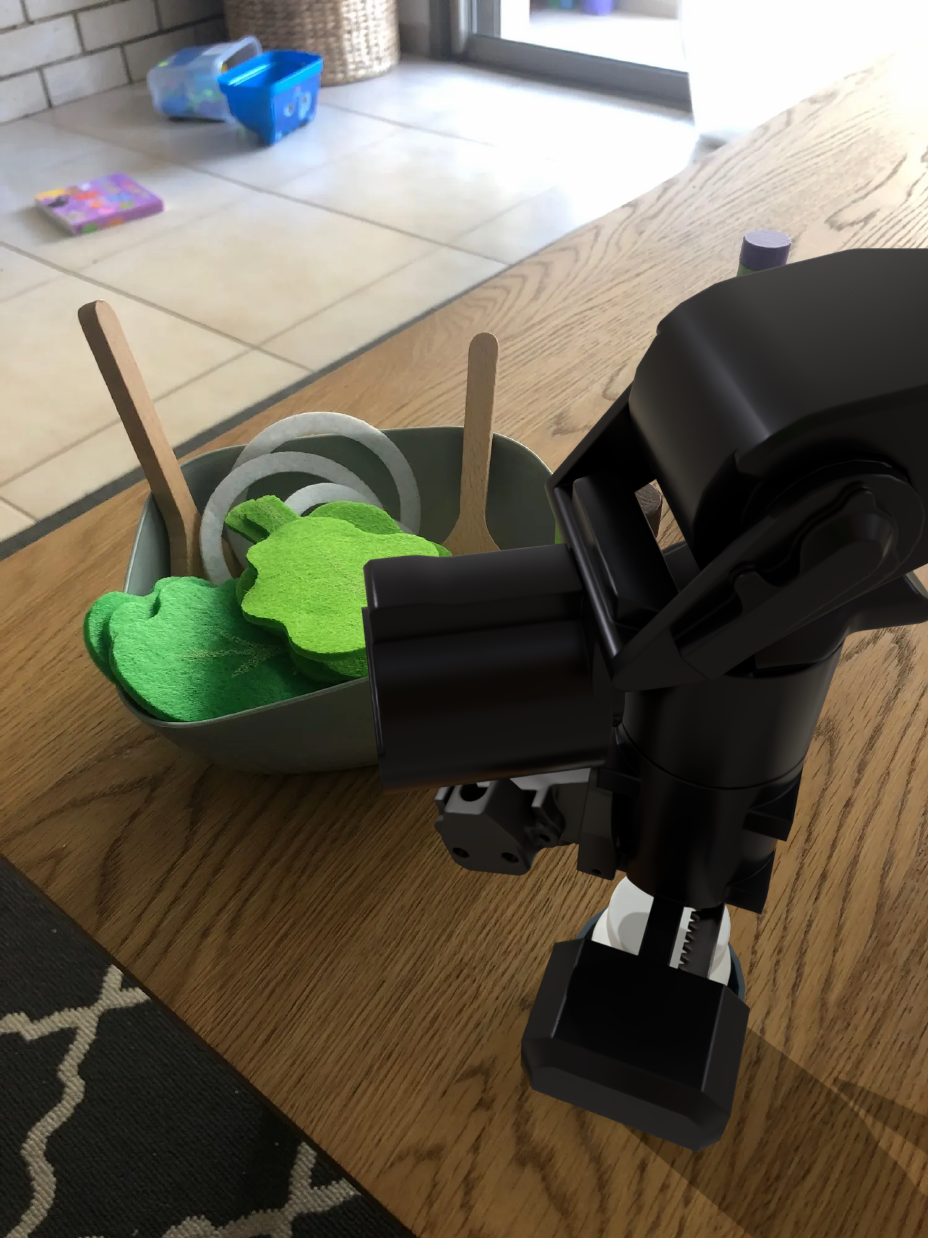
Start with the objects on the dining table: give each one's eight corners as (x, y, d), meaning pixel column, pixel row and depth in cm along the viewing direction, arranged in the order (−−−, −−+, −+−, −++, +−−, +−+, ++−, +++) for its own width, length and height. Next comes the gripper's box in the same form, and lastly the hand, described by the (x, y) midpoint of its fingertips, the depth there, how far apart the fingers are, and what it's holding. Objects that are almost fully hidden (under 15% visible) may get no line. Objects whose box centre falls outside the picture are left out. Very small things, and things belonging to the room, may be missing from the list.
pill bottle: (553, 1018, 46) (563, 905, 39) (642, 945, 49) (665, 826, 42) (643, 1120, 43) (671, 1016, 36) (733, 1036, 45) (775, 924, 38)
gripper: (552, 485, 39) (540, 742, 50) (337, 888, 26) (384, 1114, 37) (852, 547, 36) (770, 807, 47) (770, 1036, 23) (684, 1235, 34)
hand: (658, 963), depth 41 cm, fingers open, 9 cm apart
